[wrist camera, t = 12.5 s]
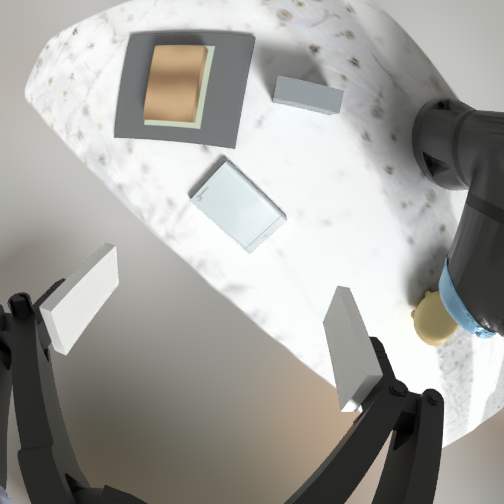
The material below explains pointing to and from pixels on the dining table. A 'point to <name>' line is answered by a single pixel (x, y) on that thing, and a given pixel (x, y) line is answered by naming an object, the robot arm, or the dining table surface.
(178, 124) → the mat
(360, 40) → the dining table surface
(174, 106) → the card box
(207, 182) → the hard drive
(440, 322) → the toy pig
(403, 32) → the dining table surface
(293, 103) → the stand
